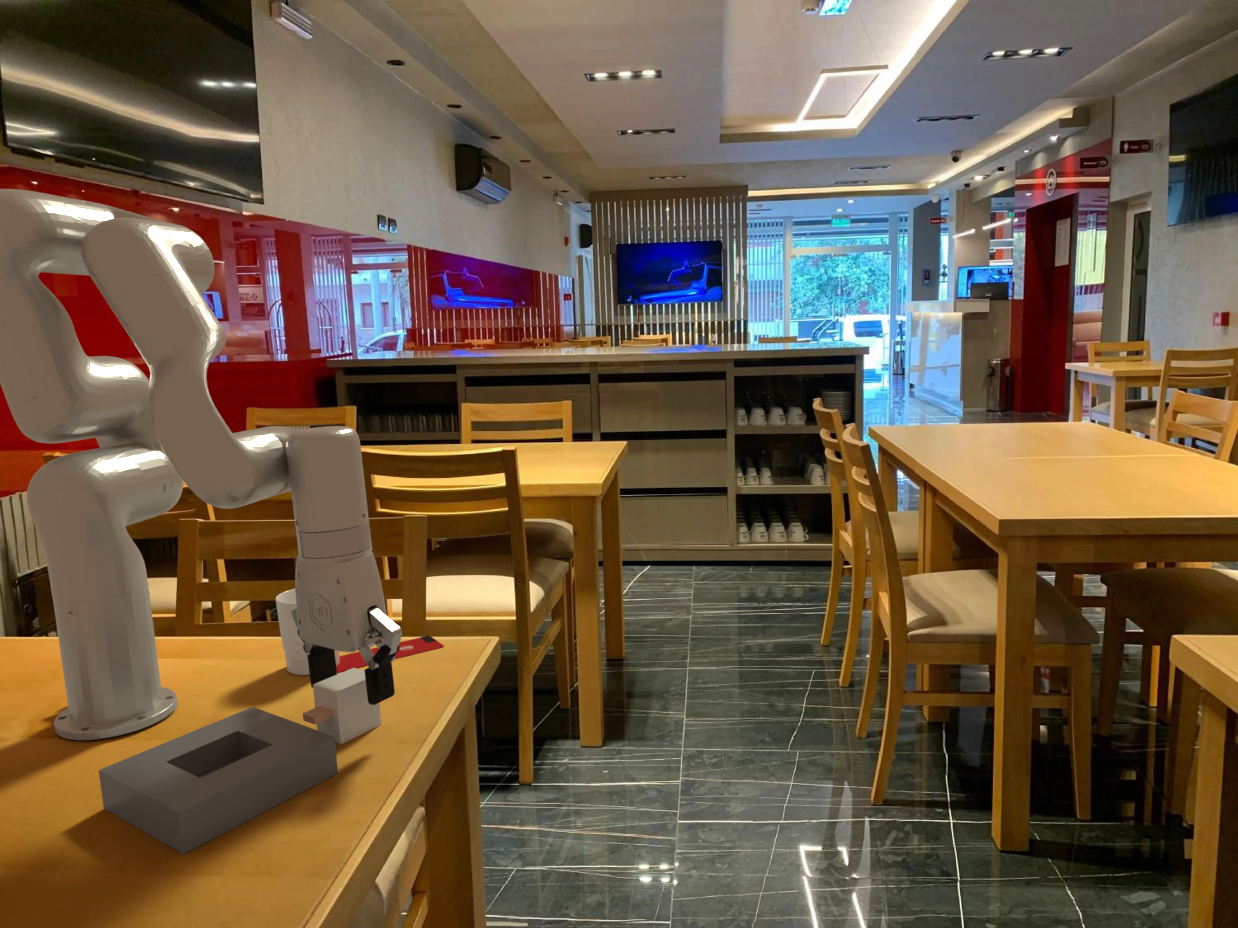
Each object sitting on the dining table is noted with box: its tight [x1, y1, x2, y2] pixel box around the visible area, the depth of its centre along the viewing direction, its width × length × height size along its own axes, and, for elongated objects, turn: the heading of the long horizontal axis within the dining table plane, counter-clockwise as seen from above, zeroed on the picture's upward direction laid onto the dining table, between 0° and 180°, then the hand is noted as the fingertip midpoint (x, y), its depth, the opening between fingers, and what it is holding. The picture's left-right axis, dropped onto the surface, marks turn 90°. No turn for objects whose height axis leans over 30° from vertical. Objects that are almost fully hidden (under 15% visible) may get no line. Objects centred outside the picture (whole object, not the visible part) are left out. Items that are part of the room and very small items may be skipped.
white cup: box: [275, 588, 341, 676], centre depth 116 cm, size 8×8×10 cm
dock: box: [98, 706, 339, 855], centre depth 85 cm, size 14×16×4 cm
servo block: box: [302, 668, 382, 745], centre depth 97 cm, size 4×10×6 cm, turn 145°
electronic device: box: [336, 634, 445, 674], centre depth 120 cm, size 6×1×15 cm
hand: (352, 691), depth 96 cm, fingers open, 9 cm apart
